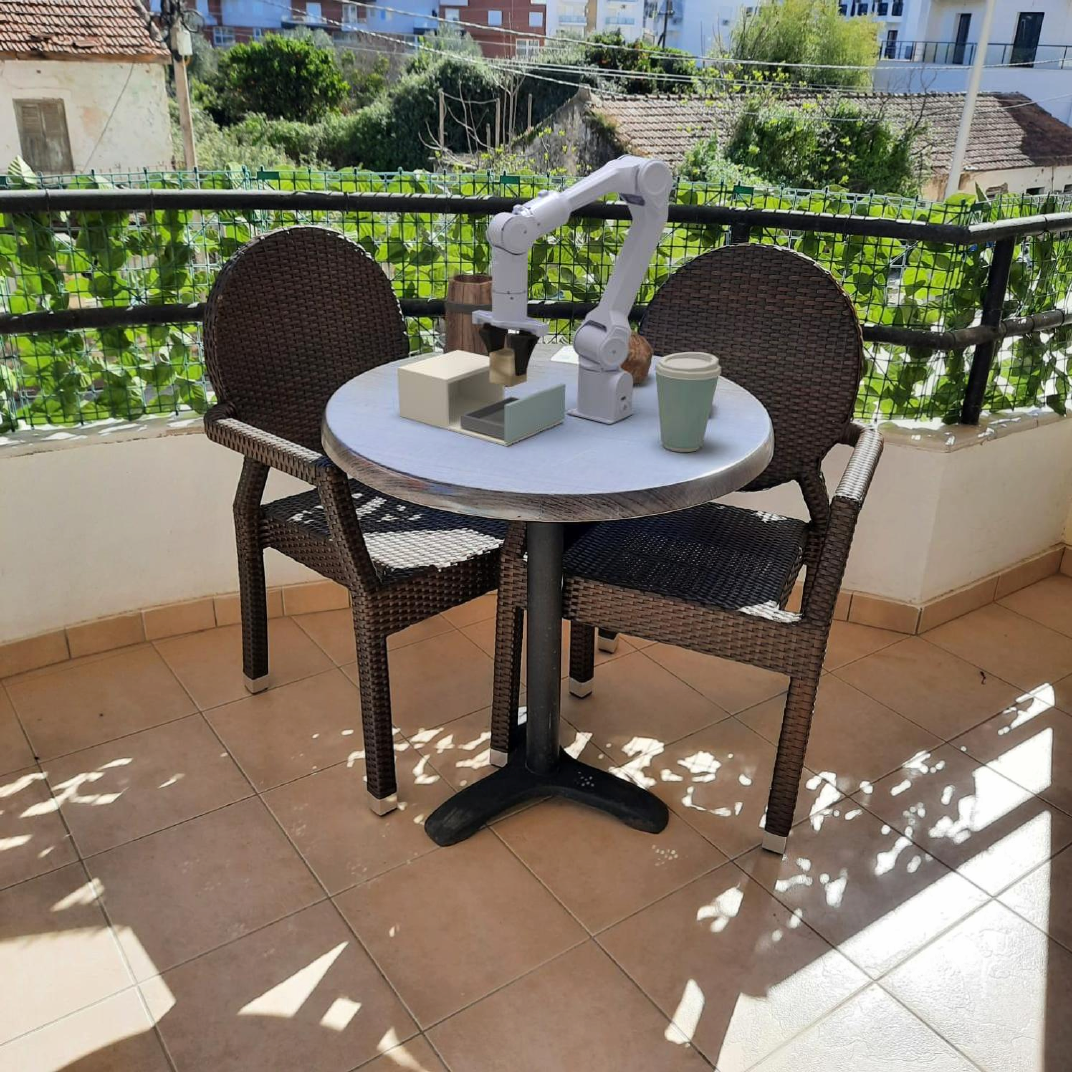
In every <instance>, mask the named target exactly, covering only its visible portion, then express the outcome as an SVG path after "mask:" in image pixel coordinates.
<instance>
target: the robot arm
mask: <svg viewBox="0 0 1072 1072" xmlns="http://www.w3.org/2000/svg"><path fill="white" fill-rule="evenodd" d="M674 184H675V181H674V178H673V175H672V173H671V171H670V167H669V166H668V164H667V163H666V162H665V161H664V160H663V159H660V158H648V157H643V156H642V157H641V156H636V155H632V154H623V155H621V156H619V157H618V158H617V159H613V160H610V161H608V162H607V163H606V164H605V165H603V166H602V167H600V168H599V169H597V170H596V171H594V172H592V173H591V174H590V175H588V176H586V177H584V178H583V179H581V180H580V181H578V182H576V183H574V184H573V185H572V186H570V187H568V188H566V189H565V190H563V191H562V192H559V191H557V190H555V189H549V190H547V189H544V188H543V189H541V190H539V191H538V192H537V193H536V194H537V196H536V197H534V198H533V199H532V200H529V201H527V202H525V203H523V204H522V205H521V204H516V205H514V206H513V210H512V212H505V211H504V212H500V213H498V214H495V216H493V217H492V219H491V221H489V224H488V228H487V230H485V237H486V240H487V242H488V243H489V245H490V246H491V248H492V249H491V250H492V261H491V262H492V264H491V265H492V267H491V268H492V270H491V271H492V272H491V273H492V274H491V275H492V312H489V311H481V310H478V311H474V312H472V323H474V324H479V323H480V324H484V326H483V328H482V329H479V335H480V337H481V338H482V340H483V342H484V344H485V346H486V349H487V352H488V355H489V358H490V353H491V352H494V351H498V350H501V349H504V344H505V338H506V334H507V330H508V331H510V330H511V331H514V332H515V331H516V332H518V333H514V335H511V341H512V344H513V349H514V355H515V373H516V376H521V375H524V374H526V371H527V372H528V367H529V364H530V363H529V362H530V360H531V357H532V354H533V352H534V350H535V348H536V345H537V344H538V342H539V341H540V338H542V337H546V336H548V335H549V323H548V322H543V321H540V320H539V319H535V318H532V317H530V316H528V268H529V266H528V265H529V262H528V260H529V259H528V258H529V256H528V255H529V251H530V250H531V248H532V247H534V244H535V241H536V240H539V239H540V238H542V237H543V236H546V235H548V234H549V233H551V232H553V231H555V230H556V229H558V228H560V227H562V226H563V225H565V224H567V223H568V221H569V219H570V215H571V212H574V211H575V210H578V209H580V208H583V207H584V206H587V205H588V204H590V203H592V202H594V201H596V200H598V199H601V198H603V197H605V196H607V195H610V194H611V193H616V194H617V195H619V197H620V198H621V199H622V200H623V202H624V203H625V204H626V206H627V207H628V211H630V212H629V213H630V214H631V217H632V221H631V223H630V226H629V229H628V232H627V234H626V237H625V239H624V241H623V244H622V246H621V249H620V252H619V254H618V257H617V258H616V260H615V264H614V266H613V269H612V271H611V274H610V276H609V278H608V281H607V284H606V287H605V289H604V292H603V293H602V296H601V297H600V298H601V299H600V301H599V304H598V306H597V307H595V308H594V309H593V310H591V311H589V312H588V313H587V314H586V315H585V318H584V320H583V322H582V323H581V325H580V326H579V327H578V328H577V329H576V330H575V332H574V333H573V337H572V348H573V350H574V352H575V354H577V356H578V372H577V373H578V374H577V375H578V377H577V378H578V379H577V381H578V382H577V399H576V400H577V402H576V407H574V408H571V409H568V410H567V411H566V413H567V414H568V415H572V416H576V417H580V418H584V419H588V420H590V421H591V420H592V421H596V422H600V423H603V424H608V425H612V424H614V423H617V422H619V421H620V420H622V419H625V418H627V417H630V416H631V415H633V414H634V411H633V410H632V403H633V402H632V401H633V393H634V392H633V391H634V390H633V389H634V383H633V378H632V375H631V374H630V373H629V372H627V371H624V370H623V369H621V364H622V363H623V362H624V361H625V359H626V357H627V354H628V343H629V338H630V336H631V333H632V332H631V330H632V329H631V326H630V323H629V320H628V317H629V315H630V312H631V310H632V308H633V305H634V303H635V300H636V298H637V295H638V293H639V291H640V288H641V286H642V283H643V281H644V278H645V276H646V274H647V271H648V269H649V266H650V263H651V261H652V260H653V259H652V258H653V256H654V254H655V251H656V249H657V247H658V244H659V242H660V239H661V236H662V234H663V232H664V229H665V227H666V225H667V222H668V218H669V201H670V194H671V192H672V189H673V186H674Z"/></svg>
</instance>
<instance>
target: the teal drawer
mask: <svg viewBox="0 0 1072 1072" xmlns="http://www.w3.org/2000/svg"><path fill="white" fill-rule="evenodd" d="M565 401H566V384H565V383H559V384H557V385H553V386H551V387H549V388H546V389H543V390H541V391H538V392H535V393H533V394H530V395H528V396H527V395H526V396H525V397H521V398H520V397H515V396H509V397H505V399H503V400H500V401H497V402H495V403H492V404H489V405H487V406H484V407H481V408H479V409H476V410H473V411H470V412H468V413H465V414H462V415H460V416H461V427H463V428H466V429H470V430H473V431H477V432H481V433H484V434H488V435H491V436H495V437H498V438H502V439H504V442H507V443H509V442H511V441H514V440H516V439H518V438H521V437H523V436H525V435H528V434H530V433H532V432H535V431H537V430H539V429H542V428H544V427H547V426H549V425H551V424H554V423H556V422H558V421H561V420H562V421H563V420H565V408H566V406H565V405H566V402H565Z"/></svg>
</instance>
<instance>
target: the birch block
mask: <svg viewBox="0 0 1072 1072" xmlns="http://www.w3.org/2000/svg"><path fill="white" fill-rule="evenodd" d="M527 380H528V370H527V371H526V374H524V375H521V376H516V373H515V355H514V349H509V348H504V349H501V350H498V351H494V352H491V353H490V382H492V383H496V384H500V385H504V386H508V388H511V387H514V386H518V385H521V384H523V383H526V382H528V381H527Z"/></svg>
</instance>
